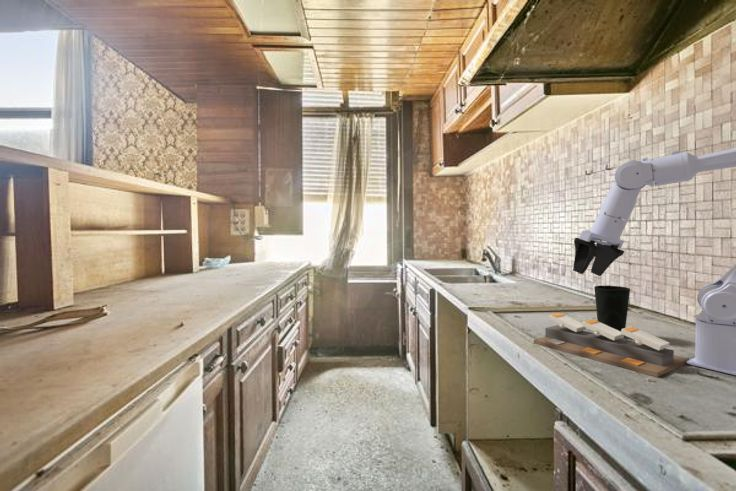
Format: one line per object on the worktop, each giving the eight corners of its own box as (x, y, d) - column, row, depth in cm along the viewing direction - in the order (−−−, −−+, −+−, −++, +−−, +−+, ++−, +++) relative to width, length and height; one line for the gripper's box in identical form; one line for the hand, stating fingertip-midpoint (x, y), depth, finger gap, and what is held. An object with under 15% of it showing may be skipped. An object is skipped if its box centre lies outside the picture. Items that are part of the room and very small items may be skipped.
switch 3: (666, 350, 74) (669, 341, 74) (657, 353, 72) (660, 345, 72) (629, 333, 80) (631, 325, 79) (619, 336, 78) (621, 328, 77)
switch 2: (622, 340, 81) (625, 332, 81) (612, 343, 79) (615, 335, 79) (590, 325, 87) (592, 318, 86) (580, 328, 85) (582, 320, 84)
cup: (594, 336, 95) (595, 288, 94) (592, 329, 101) (593, 284, 101) (631, 340, 91) (632, 290, 91) (627, 332, 98) (627, 286, 97)
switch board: (689, 362, 75) (689, 347, 75) (657, 377, 68) (657, 360, 68) (568, 334, 97) (568, 322, 97) (533, 343, 89) (533, 330, 89)
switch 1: (585, 332, 88) (587, 325, 87) (575, 334, 86) (577, 327, 85) (557, 319, 94) (559, 312, 93) (547, 321, 92) (549, 314, 91)
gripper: (611, 216, 90) (587, 268, 93) (578, 206, 82) (553, 263, 85) (642, 225, 84) (615, 280, 87) (609, 216, 76) (582, 276, 80)
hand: (586, 273), depth 86 cm, fingers open, 7 cm apart
